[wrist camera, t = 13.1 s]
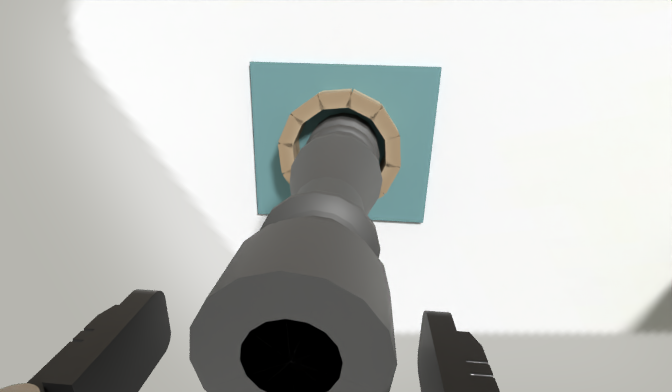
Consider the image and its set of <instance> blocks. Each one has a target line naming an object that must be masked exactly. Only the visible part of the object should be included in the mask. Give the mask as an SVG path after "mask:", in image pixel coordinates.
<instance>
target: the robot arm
mask: <svg viewBox="0 0 672 392" xmlns="http://www.w3.org/2000/svg"><path fill="white" fill-rule="evenodd" d="M170 336H171V330H170V324H169V318H168V312H167V306H166V300H165V295H164V293H163V292H162V291H153V290H139V289H138V290H134V291H133V292H132V293H131V294H130V295H129V296H128V297H127V298H126V299H125V300H124V301H123V302H122V303H121V304H120V305H114V306H113V307H111V308H109V309H108V310H106V311H104V312H103V313H101V314H99V315H98V316H97V317H95V318H94V319H93V320H92V321H91V322H90V323H89V324H88V325H87V326H86V327H85V328H84V331H81V332H80V333H79V334H78V335H77V336H76V337H75V338H73V341H72V342H69V343H68V344H67V345H66V346H65V347H64V348H63V349H62V350H61V351H60V352H59V353H58V354H57V355H56V356H55V357H53V358H52V359H51V360H50V361H49V362H48V363H47V364H46V365H45V366H44V367H43V368H42V369H41V370H40V371H39V372H38V373H37V374H36V375H35V376H34V377H33V378H32V379H30V380H29V381H28V382H27V383H21V384H15V385H11V386H8V387H5V388H2V389H0V392H138V391H139V390H140V388H141V387H142V385H143V384H144V382H145V381H146V380H147V378H148V377H149V375H150V374H151V372H152V371H153V369H154V368H155V366H156V365H157V363H158V362H159V360H160V359H161V358H162V356H163V355H164V353H165V352H166V350H167V348H168V345H169V342H170ZM418 374H419V380H420V387H421V392H500V391H499V388H498V386H497V383H496V381H495V378H493V373H492V371H491V368H490V365H488V360H487V358H486V355H485V353H484V350H483V348H482V346H481V345H480V343H478V341H477V340H476V339H475V338H474V337H473V336H472V335H471V334H470V332H461V331H456V327H455V324H454V321H453V318H452V315H451V313H449V312H435V311H424V313H423V318H422V325H421V333H420V341H419V349H418Z"/></svg>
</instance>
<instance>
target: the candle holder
mask: <svg viewBox="0 0 672 392" xmlns="http://www.w3.org/2000/svg"><path fill="white" fill-rule="evenodd" d="M379 157H380V153H379V146H378V141H377V136H376V133H375V131H374V130H373V128H372V127H371V126H370V124H369V123H368V122H367V121H366V120H364V119H362V118H361V117H359V116H358V115H355V114H349V113H343V112H342V113H338V114H334V115H330V116H328V117H327V118H325V119H324V120H323V121H321V122H320V123H319V124H318V125H317V126H316V128H315V129H314V131H313V132H312V134H311V136H310V137H309V139H308V141H307V143H306V145H305V146H304V147H302V148H301V150H300V151H299V153H298V155H297V157H296V158H295V160H294V162H293V163H292V165H291V174H290V191H291V196H290V197H288V198H287V199H285V200H284V201H282V202H281V203H280V204H278V205H277V206H275V207H274V208H273V209H272V210H271V212H270V214H269V215H268V217H267V219H266V220H265V222H264V224H263V225H262V227H261V229H260V231H259V232H257V233H256V234H254V235H253V236H251V237H250V238H248V239H247V240H245V241H244V242H243V244H242V245H241V247H240V248H239V250H238V251H237V253H236V254H235V256H234V257H233V259H232V260H231V262H230V264H229V265H228V267H227V268H226V270H225V271H224V273H223V274H222V276H221V277H220V279H219V280H218V282H217V283H216V285H215V286H214V288H213V289H212V291H211V292H210V294H209V295H208V297H207V298H206V300H205V302H204V304H203V305H202V307H201V309H200V311H199V312H198V314H197V316H196V318H195V319H194V321H193V323H192V325H191V326H190V361H191V363H192V365H193V367H194V369H195V371H196V373H197V375H198V378H199V380H200V382H201V384H202V386H203V388H204V389H205V390H206V391H207V392H389V391H390V387H391V384H392V381H393V377H394V373H395V370H396V366H397V359H396V350H395V349H396V348H395V338H394V328H393V318H392V307H391V297H390V290H389V286H388V282H387V277H386V273H385V269H384V265H383V264H382V262H381V261H380V260H379V259H378V258H379V254H380V245H379V241H378V236H377V232H376V228H375V225H374V223H373V222H372V221H371V219H370V218H369V217H368V213H369V212H370V210H371V209H372V207H373V206H374V204H375V203H376V201H377V200H378V198H379V195H380V190H381V185H382V181H383V180H382V175H381V170H380V165H379Z"/></svg>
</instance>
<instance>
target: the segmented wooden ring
mask: <svg viewBox="0 0 672 392" xmlns="http://www.w3.org/2000/svg"><path fill="white" fill-rule="evenodd" d="M336 108H350V109H352V110H354V111H356V112H358V113H360V114H362V115H364V116H366V117H368V118H370V119H372V121H373V122H374V124H375V125H376V127H377V128H378V130H379V132H380V133H381V135H382V136H383V138H384V157H383V159H382V161H381V163H380V170H381V175H382V180H383V181H382V185H381V190H380V195H379V198H381V197H382V196H384V193H385V194H386V193H387V191H388V189H389V187H390V186H391V184H392V182H393V180H394V179H395V177H396V175H397V173H398V172H399V170H400V167H401V153H400V134H399V132H398V129H397V127H396V126H395V124H394V123H393V121H392V119H391V118H390V116H389V115H388V113H387V111H386V110H385V108H384V107H383V105H382V103H381V104H380V102H379V101H377V100H375V99H373V98H371V97H369V96H367V95H365V94H363V93H361V92H359V91H357V90H355V89H353V92H352V88H351V89H338V90H325V91H322V92H319V93H318V94H316V95H315V96H314V97H312V98H311V99H309V100H308V101H307V102H305V103H304V104H302V105H301V106H300V107H298V108H297V109H296V110H294V111H293V112H292V113H291V114H290V115H289V118H288V120H287V122H286V125H285V127H284V129H283V132H282V134H281V137H280V139H279V141H278V142H279V144H278V149H279V156H280V164H281V171H282V173H284V174H283V176H284V177H285V179H286V180H287V181H288V183H289V184H290V174H291V165H292V163H293V162H294V160H295V158H296V157H297V155H298V153H299V151H300V145H299V137H300V134H301V132H302V130H303V128H304V125H305V123H306V121H307V120H308V119H310V118H311V117H313V116H314V115H316V114H317V113H318V112H320V111H321V110H323V109H336ZM379 198H378V199H379Z"/></svg>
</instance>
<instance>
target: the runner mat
mask: <svg viewBox="0 0 672 392" xmlns="http://www.w3.org/2000/svg"><path fill="white" fill-rule="evenodd" d="M250 75H251V93H252V112H253V130H254V148H255V167H256V185H257V203H258V214H270V212H271V210H272V209H273V208H274V207H275V206H277V205H278V204H280V203H281V202H282V201H284V200H285V199H287V198H288V197H290V196H291V191H290V184H289V183H288V181H287V180H286V179H285V177H284V176H283V174H284V173H282V171H281V164H280V156H279V149H278V144H279V142H278V141H279V139H280V137H281V134H282V132H283V129H284V127H285V125H286V122H287V120H288V118H289V115H290V114H291V113H292V112H293V111H294V110H296V109H297V108H298V107H300V106H301V105H302V104H304V103H305V102H307V101H308V100H309V99H311V98H312V97H314V96H315V95H316V94H318V93H319V92H322V91H325V90H338V89H351V88H352V92H353V89H355V90H357V91H359V92H361V93H363V94H365V95H367V96H369V97H371V98H373V99H375V100H377V101H379V102H380V104H381V103H382V105H383V107H384V108H385V110H386V111H387V113H388V115H389V116H390V118H391V119H392V121H393V123H394V124H395V126H396V127H397V129H398V132H399V134H400V153H401V167H400V170H399V172H398V173H397V175H396V177H395V179H394V180H393V182H392V184H391V186H390V187H389V189H388V191H387V193H386V194H385V193H384V196H382V197H381V198H379V199H378V200H377V201H376V203H375V204H374V206H373V207H372V209H371V210H370V212H369V213H368V217H369V218H370V219H371V220H385V221H403V222H421V223H423V218H424V209H425V201H426V193H427V184H428V176H429V168H430V159H431V151H432V143H433V134H434V126H435V118H436V109H437V101H438V93H439V84H440V76H441V67H416V66H381V65H346V64H310V63H275V62H250ZM342 112H343V113H349V114H355V115H358V116H359V117H361V118H362V119H364V120H366V121H367V122H368V123H369V124H370V126H371V127H372V128H373V130H374V131H375V133H376V136H377V141H378V146H379V153H380V157H379V165H380V163H381V161H382V159H383V157H384V138H383V136H382V135H381V133H380V132H379V130H378V128H377V127H376V125H375V124H374V122H373V121H372V119H370V118H368V117H366V116H364V115H362V114H360V113H358V112H356V111H354V110H352V109H350V108H336V109H323V110H321V111H320V112H318V113H317V114H316V115H314V116H313V117H311V118H310V119H308V120H307V121H306V123H305V125H304V128H303V130H302V132H301V134H300V137H299V145H300V150H301V148H302V147H304V146H305V145H306V143H307V141H308V139H309V137H310V136H311V134H312V132H313V131H314V129H315V128H316V126H317V125H318V124H319V123H320V122H321V121H323V120H324V119H325V118H327V117H328V116H330V115H334V114H338V113H342Z"/></svg>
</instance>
